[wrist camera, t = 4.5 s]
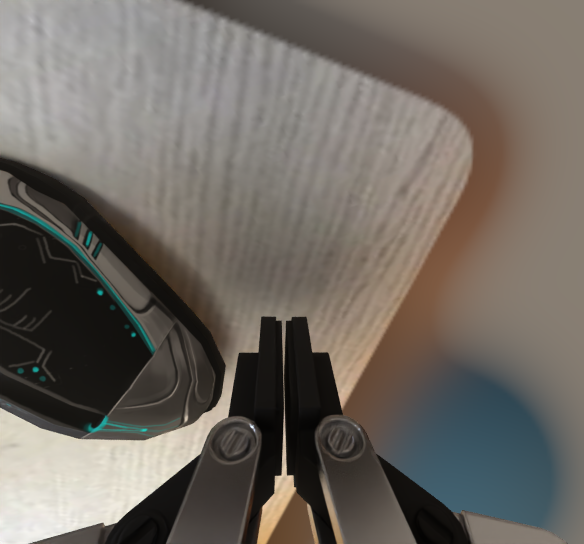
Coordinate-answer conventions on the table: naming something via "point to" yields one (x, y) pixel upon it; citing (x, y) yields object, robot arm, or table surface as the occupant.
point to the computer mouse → (92, 323)
